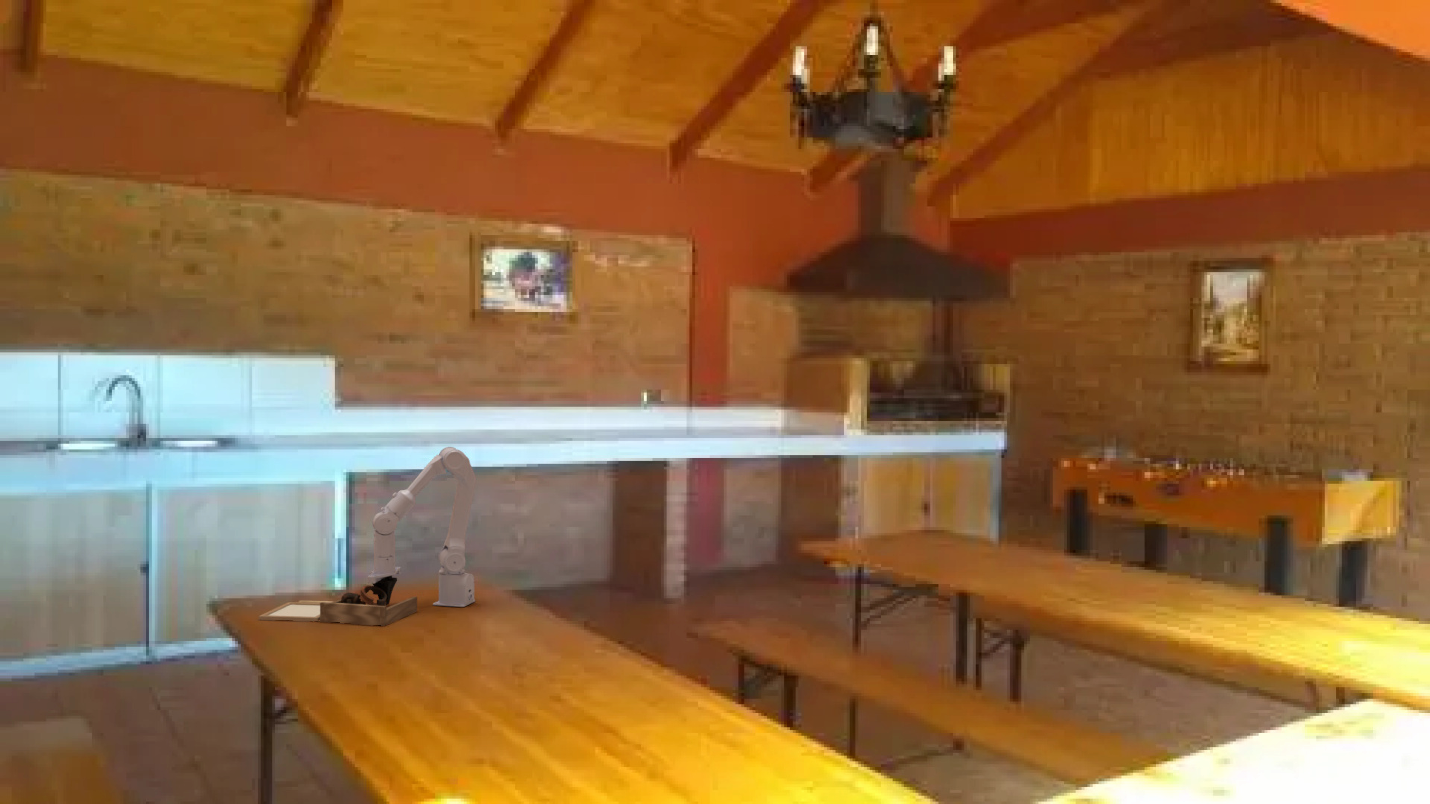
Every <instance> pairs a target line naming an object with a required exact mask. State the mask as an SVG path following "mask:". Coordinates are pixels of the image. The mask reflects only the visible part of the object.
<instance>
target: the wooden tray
mask: <svg viewBox="0 0 1430 804" xmlns="http://www.w3.org/2000/svg"><path fill="white" fill-rule="evenodd" d="M333 601H334V602H321V603H320V623H330V622H340V623H339V624H344V623H351V624H350V625H358V624H359V625H361V626H373V625H381V626H380V627H386V626H388V625H390V624H392V623H395V622H397V621H399V620H401V619H403V618H405V617H408V616H410V615H413V614H415V613H417V612H416V611H418V597H417V596H411V597H409V598H406V599H404V600H401V601H398V602H397V603H395V604H392V605H390V606H387V605H386V606H377V605H368V604H366V605H362V604H346V603H341V598H340V599H337V600H333ZM349 602H351V599H347V603H349ZM396 620H397V621H396ZM391 622H392V623H391ZM359 625H358V626H359ZM385 625H386V626H385Z"/></svg>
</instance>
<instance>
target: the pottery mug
mask: <svg viewBox="0 0 1430 804" xmlns="http://www.w3.org/2000/svg"><path fill="white" fill-rule="evenodd" d="M369 591H371V592H372V595H376V596H378V595H381V596H382V599H379V598H378V599H377V600H376V602H374V600H375V599H374V597H372V596H370V595H368V594H367V593H369ZM340 599H341V603H346V604H362V605H377V606H386V607H387V605H386V599H387V595H386V593H385V592H384V591H383V590H382V589H380V588H378V587H375V586H374V585H364V586H362V588H361V589H358V590H357V591H355V593H353V592H346V593H344V594H343V595H342V596H341V598H340ZM347 599H351V602H349V603H347Z"/></svg>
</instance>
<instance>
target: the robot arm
mask: <svg viewBox="0 0 1430 804" xmlns="http://www.w3.org/2000/svg"><path fill="white" fill-rule="evenodd" d="M446 470H447V471H448V472H449V473H450V474H451V475H452V477H453V478H454V480H455V481H456V482H457V485H456V489H455V494H454V495H455V496H454V501H453V504H452V505H453V506H452V510H451V515H450V520H449V526H448V531H447V536H446V538H445V541H444V543H443V547H442V549H441V550H440V551H439V552H438V555H437V556H438V557H437V560H438V563H439V564H440V569H439V570H438V601H435V602H433V603H432V605H433V606H441V607H443V606H444V607H455V608H456V607H458V608H459V607H460V608H463V607H467V606H468V605H471V604H473V603H475V602H476V599H475V577H474V574H472V573H468V572H466V569H465V567H466V563H467V559H466V557H465V551H466V545H465V544H466V543H465V539H466V535H467V529H468V524H469V518H470V514H471V509H472V504H473V498H474V493H475V487H476V483H477V477H476V475H475V472H474V469H473V467H472V464H471V462H470V458H469V457H468V456H467V455H466V454H465V453H464V452H463V451H462V450H461V449H457V448H456V447H454V446H447V447H444V448H442V449H441V450H440V452H439V453H438V454H436V455H435V456H433V457H432V458H431V460H430V461H429V462H428V463H427V464H426V466H425V467H424V468H423V469H422V470H421V472H420V473H419V474H418V475H417V477H416V478H415V479H414V480H413V481H412V482H411V484H409V486H408V487H407V488H406V489H404V490H403V489H401V490H399V491H398V492H396V491H395V492H394V493H392V495H391V496H392V498H391V499H390V500H389V502H388V503H387V504H386V505H385V506H382V507H381V508H380V512H378V513H376V514H375V515H374V517H373V520H372V522H371V524H372V525H371V526H372V527H373V529H374V533H373V536H374V538H373V570H370V571H369V573H370V574H369V575H368V576H367V584H372V586H375V587H378V588H380V589H382V590H383V591H384V592H385V593H386V595H387V599H386V606H387V605H390V602H391V601H390V600H391V597H392V593H393V590H394V587H395V585H396V584H397V581H398V578H397V577H394V576H396V575H402V573H401V572H402V570H401V569H402V568H401V566H396V538H395V531H396V530H397V528H398V527H397V526H398V522H401V520H403V519H404V518H405V516H407V514H408V513H409V512H410V511H411V510H412V508H413V507H414V506H415V505H416V503H417V502H416V497H417V496H418V495H420V493H421V492H422V491H423V490H424V489H425V488H426V487H427V486H428V485H429V484H430V483H431V481H432V480H434V479H435V477H438V476H441V475H446V474H447V471H446ZM377 597H378V599H382V596H381V595H377Z"/></svg>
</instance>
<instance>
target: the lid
mask: <svg viewBox="0 0 1430 804" xmlns="http://www.w3.org/2000/svg"><path fill="white" fill-rule="evenodd" d="M334 601H335V600H333V601H332V600H331V601H330V600H329V601H328V600H299V601H296V602H295V601H290V602H286V603H284V604H282V605H279V606H277V607H275V608H273V609H271V610H269V611H267V612H265V613H262V614H261V615H258V621H275V620H293V621H292V622H310V621H313V622H314V621H318V622H319V620H320V603H321V602H334ZM313 622H312V623H313ZM310 623H311V622H310ZM314 623H315V622H314Z"/></svg>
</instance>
